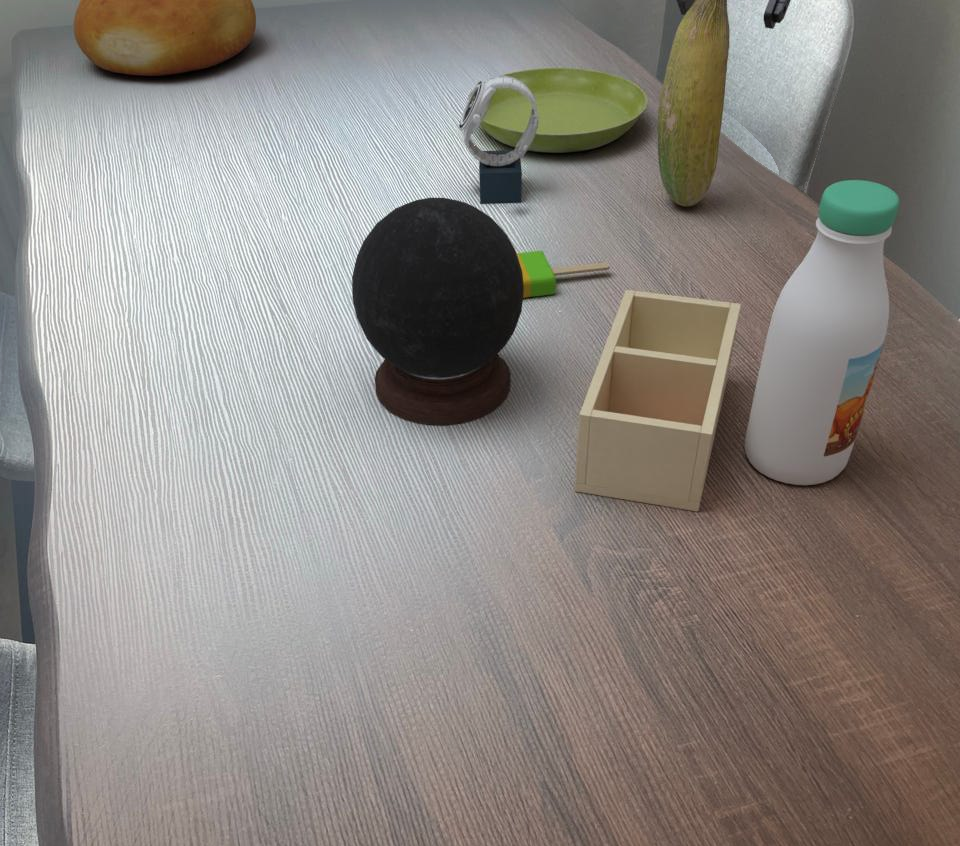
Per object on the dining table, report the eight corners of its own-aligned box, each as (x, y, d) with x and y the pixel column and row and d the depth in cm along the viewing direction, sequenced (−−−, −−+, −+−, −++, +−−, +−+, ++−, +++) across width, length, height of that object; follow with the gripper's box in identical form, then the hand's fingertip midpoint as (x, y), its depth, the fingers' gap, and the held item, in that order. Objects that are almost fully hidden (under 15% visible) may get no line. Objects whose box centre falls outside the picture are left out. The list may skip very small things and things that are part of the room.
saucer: (681, 134, 118) (685, 104, 116) (537, 180, 111) (538, 150, 108) (571, 81, 130) (572, 53, 127) (434, 120, 122) (433, 91, 120)
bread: (98, 31, 146) (76, -51, 139) (263, 22, 147) (250, -60, 140) (73, 91, 131) (47, 2, 123) (257, 80, 132) (242, -9, 125)
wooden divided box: (727, 378, 85) (741, 303, 80) (698, 512, 73) (712, 434, 68) (618, 363, 86) (625, 289, 81) (574, 491, 75) (579, 414, 70)
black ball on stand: (490, 446, 79) (488, 262, 68) (336, 414, 82) (310, 233, 71) (543, 357, 87) (548, 180, 76) (401, 331, 91) (386, 157, 79)
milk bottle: (781, 500, 74) (849, 232, 59) (723, 441, 79) (772, 180, 64) (868, 471, 76) (955, 206, 61) (806, 416, 81) (873, 157, 66)
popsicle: (447, 277, 97) (446, 258, 95) (600, 261, 99) (602, 242, 97) (457, 307, 93) (456, 288, 92) (616, 289, 95) (618, 270, 93)
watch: (461, 181, 111) (457, 70, 103) (535, 179, 111) (537, 68, 103) (461, 204, 107) (457, 91, 99) (538, 202, 107) (540, 89, 99)
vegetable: (703, 223, 103) (736, -2, 88) (642, 215, 105) (664, -8, 90) (714, 197, 107) (747, -23, 92) (655, 190, 108) (678, -28, 94)
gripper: (867, -121, 96) (800, 51, 98) (725, -136, 101) (663, 28, 103) (865, -182, 89) (793, 4, 91) (712, -195, 94) (647, -18, 96)
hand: (724, 17), depth 97 cm, fingers open, 8 cm apart
